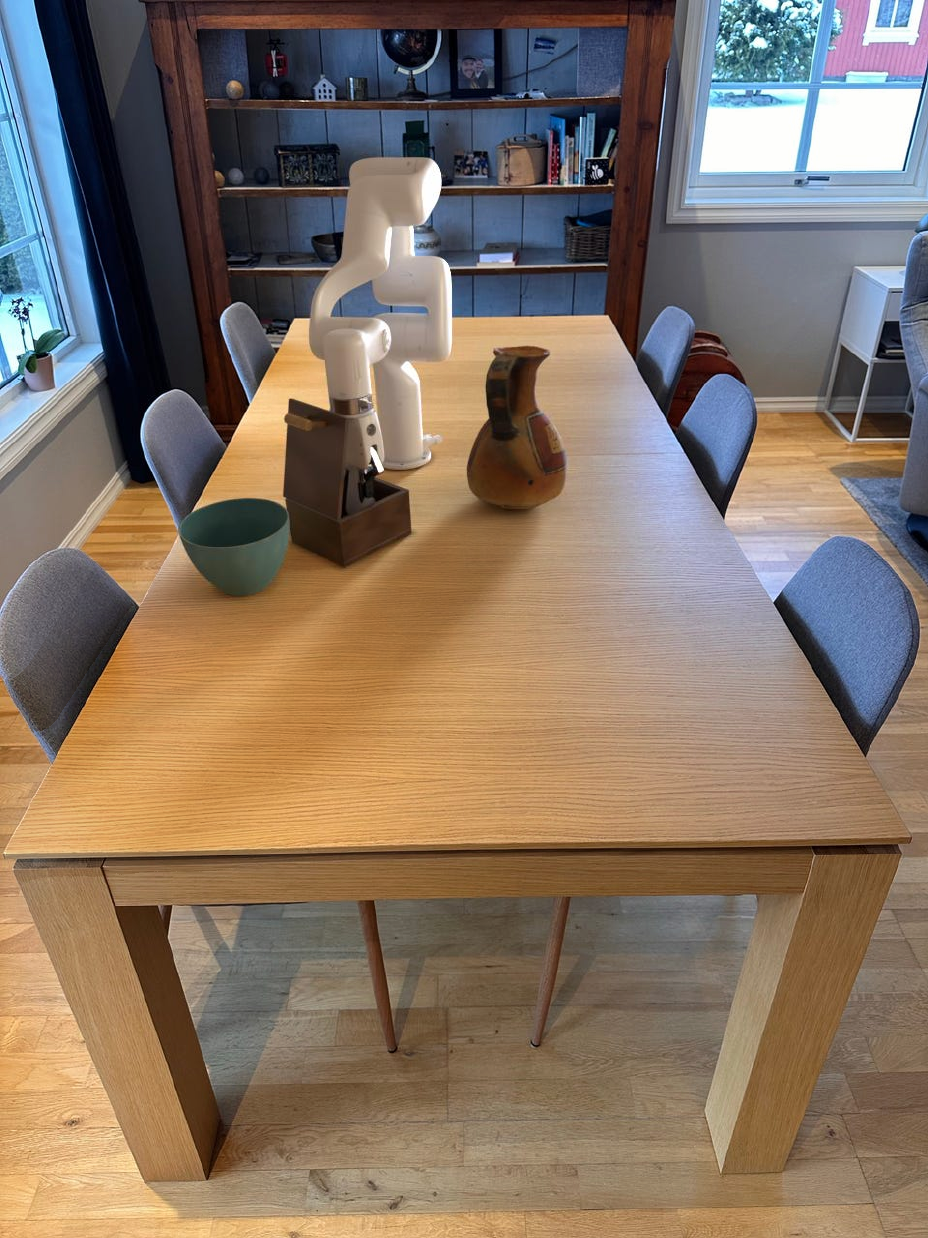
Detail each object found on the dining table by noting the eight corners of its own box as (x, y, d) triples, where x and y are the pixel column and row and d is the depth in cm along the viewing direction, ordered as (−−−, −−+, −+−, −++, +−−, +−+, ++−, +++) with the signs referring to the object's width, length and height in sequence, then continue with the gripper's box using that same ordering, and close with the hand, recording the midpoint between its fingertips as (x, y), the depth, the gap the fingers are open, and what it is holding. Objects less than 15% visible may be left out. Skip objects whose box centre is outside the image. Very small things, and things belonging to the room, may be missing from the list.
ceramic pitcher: (579, 485, 190) (585, 340, 174) (544, 528, 175) (548, 373, 158) (492, 471, 197) (490, 330, 181) (451, 510, 182) (445, 361, 166)
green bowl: (207, 623, 150) (192, 557, 144) (181, 574, 164) (167, 512, 157) (312, 594, 157) (303, 530, 150) (279, 549, 171) (269, 489, 164)
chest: (358, 510, 183) (354, 468, 178) (411, 533, 175) (408, 489, 170) (291, 542, 173) (284, 498, 168) (344, 567, 164) (339, 522, 159)
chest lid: (292, 398, 161) (267, 399, 157) (349, 417, 153) (324, 419, 149) (286, 496, 168) (262, 499, 164) (340, 520, 159) (316, 524, 156)
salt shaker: (382, 514, 176) (377, 450, 169) (370, 528, 171) (364, 463, 164) (354, 511, 177) (348, 447, 170) (341, 524, 173) (334, 459, 166)
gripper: (398, 406, 159) (405, 503, 169) (336, 387, 169) (346, 479, 179) (366, 419, 155) (375, 517, 165) (304, 398, 164) (316, 492, 174)
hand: (360, 496), depth 172 cm, fingers closed on salt shaker, 3 cm apart
